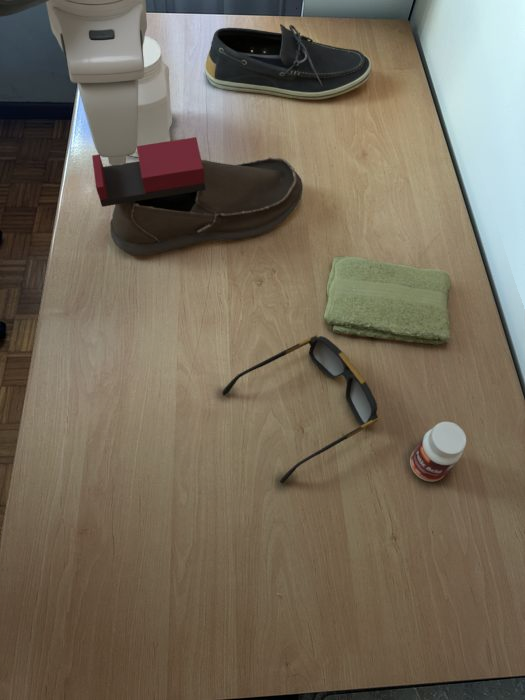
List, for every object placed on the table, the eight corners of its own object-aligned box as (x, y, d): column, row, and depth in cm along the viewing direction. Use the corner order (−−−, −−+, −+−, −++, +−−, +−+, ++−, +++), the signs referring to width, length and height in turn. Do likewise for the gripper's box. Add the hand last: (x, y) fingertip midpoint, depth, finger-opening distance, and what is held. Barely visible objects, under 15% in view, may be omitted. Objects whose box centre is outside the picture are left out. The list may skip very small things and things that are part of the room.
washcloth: (329, 260, 98) (332, 246, 96) (447, 279, 98) (454, 266, 95) (320, 333, 91) (323, 320, 89) (447, 354, 91) (454, 342, 88)
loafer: (314, 219, 102) (324, 167, 93) (130, 280, 94) (121, 230, 85) (282, 172, 107) (288, 118, 98) (104, 226, 99) (93, 173, 90)
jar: (115, 108, 112) (103, 25, 99) (172, 110, 113) (168, 28, 100) (109, 156, 106) (95, 74, 93) (169, 158, 107) (163, 78, 94)
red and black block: (102, 207, 88) (95, 186, 85) (97, 173, 91) (91, 152, 88) (205, 190, 90) (203, 168, 86) (198, 158, 92) (195, 136, 89)
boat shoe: (369, 107, 117) (381, 61, 109) (203, 96, 115) (202, 48, 107) (365, 68, 123) (376, 21, 115) (206, 57, 121) (206, 9, 113)
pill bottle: (402, 466, 82) (420, 438, 75) (422, 439, 84) (442, 410, 77) (434, 490, 81) (456, 465, 74) (454, 462, 83) (477, 435, 76)
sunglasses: (221, 395, 85) (222, 376, 81) (318, 345, 90) (323, 325, 86) (280, 484, 80) (284, 469, 75) (380, 426, 85) (389, 408, 80)
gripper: (55, -52, 65) (76, 72, 77) (69, 79, 55) (90, 199, 67) (120, -54, 66) (130, 69, 78) (145, 75, 56) (153, 194, 68)
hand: (112, 130), depth 72 cm, fingers open, 8 cm apart
